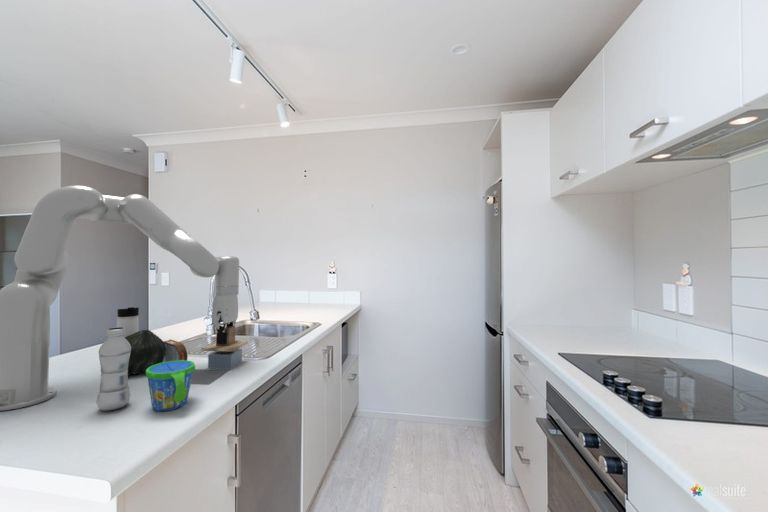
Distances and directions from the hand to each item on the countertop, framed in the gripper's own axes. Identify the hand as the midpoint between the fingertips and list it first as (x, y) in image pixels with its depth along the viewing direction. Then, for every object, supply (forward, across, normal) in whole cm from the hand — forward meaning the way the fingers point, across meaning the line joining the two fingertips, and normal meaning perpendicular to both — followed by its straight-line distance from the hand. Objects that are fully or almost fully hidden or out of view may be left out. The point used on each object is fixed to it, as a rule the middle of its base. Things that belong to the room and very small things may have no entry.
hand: (225, 341), depth 115 cm
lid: (+2, 0, 0) cm, 2 cm away
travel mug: (+9, -3, -38) cm, 39 cm away
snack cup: (+9, +32, +2) cm, 33 cm away
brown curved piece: (+9, 0, -19) cm, 21 cm away
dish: (+9, 0, 0) cm, 9 cm away
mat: (+9, +12, -2) cm, 15 cm away
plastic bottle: (+9, +34, -11) cm, 37 cm away
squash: (+9, +8, -25) cm, 28 cm away
